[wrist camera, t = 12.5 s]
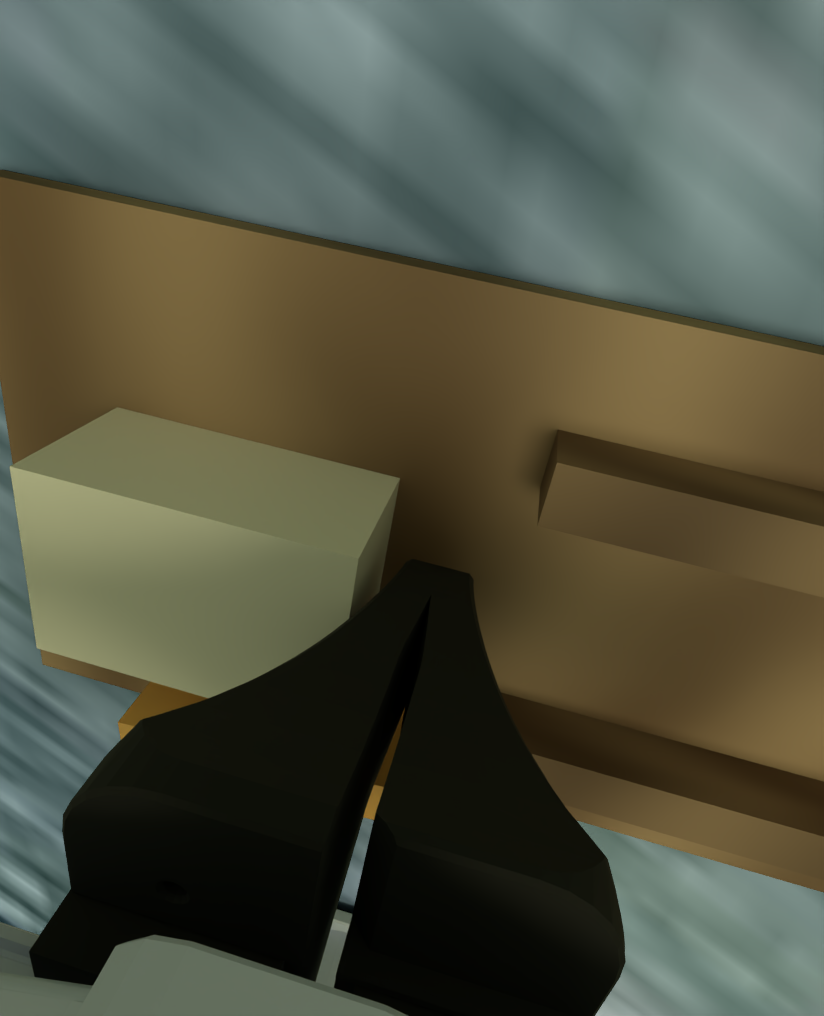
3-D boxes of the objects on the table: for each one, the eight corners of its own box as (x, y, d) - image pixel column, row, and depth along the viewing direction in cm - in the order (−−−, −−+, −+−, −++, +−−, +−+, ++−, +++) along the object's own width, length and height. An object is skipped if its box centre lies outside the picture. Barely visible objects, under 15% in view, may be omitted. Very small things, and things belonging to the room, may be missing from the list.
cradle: (62, 645, 18) (1, 704, 16) (2, 169, 12) (-106, 170, 10) (1221, 978, 15) (1319, 1100, 13) (1859, 569, 10) (2200, 677, 8)
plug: (126, 565, 15) (36, 648, 13) (117, 407, 13) (8, 466, 11) (371, 633, 15) (330, 734, 12) (399, 478, 13) (358, 558, 10)
